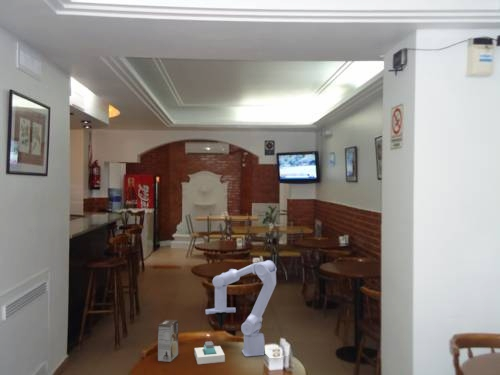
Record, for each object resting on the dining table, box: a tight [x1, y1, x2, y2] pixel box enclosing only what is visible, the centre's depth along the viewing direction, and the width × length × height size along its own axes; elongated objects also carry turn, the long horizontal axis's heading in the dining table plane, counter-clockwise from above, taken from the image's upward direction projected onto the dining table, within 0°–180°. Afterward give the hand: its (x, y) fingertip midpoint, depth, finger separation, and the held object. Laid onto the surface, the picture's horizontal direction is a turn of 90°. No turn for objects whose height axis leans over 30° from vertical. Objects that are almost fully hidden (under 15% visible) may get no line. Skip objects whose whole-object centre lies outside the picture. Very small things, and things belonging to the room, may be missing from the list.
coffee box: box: [157, 319, 179, 363], centre depth 197 cm, size 9×6×16 cm
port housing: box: [193, 345, 226, 365], centre depth 197 cm, size 12×12×3 cm
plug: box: [203, 340, 215, 355], centre depth 197 cm, size 4×6×6 cm, turn 14°
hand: (220, 328), depth 210 cm, fingers closed
